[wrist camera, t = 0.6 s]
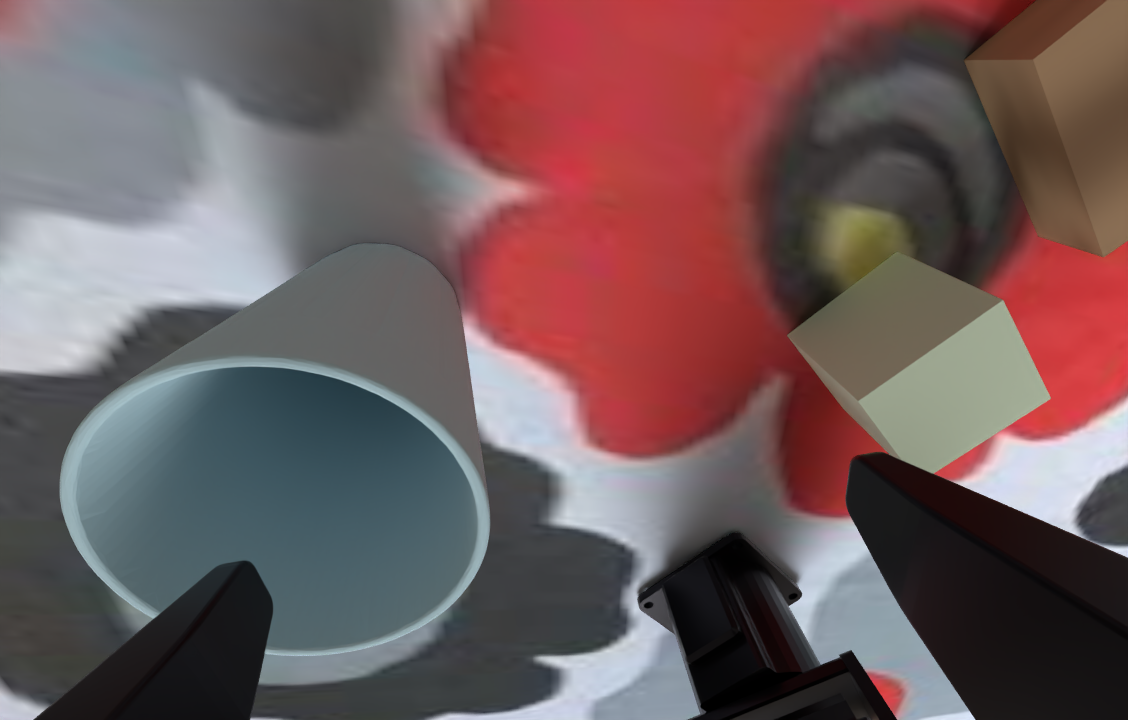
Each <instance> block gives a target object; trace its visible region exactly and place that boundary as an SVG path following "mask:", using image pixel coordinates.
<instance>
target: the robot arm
mask: <svg viewBox="0 0 1128 720" xmlns="http://www.w3.org/2000/svg"><path fill="white" fill-rule="evenodd" d="M846 506H847V509H848V512H849V514H850V516H851V518H852V520H853V522H854V524H855V525H856V527H857V529H858V531H859V533H860V535H861V537H862V538H863V540H864V542H865V544H866V546H867V548H868V550H869V551H870V553H871V555H872V557H873V559H874V561H875V563H876V564H877V566H878V568H879V570H880V572H881V574H882V576H883V577H884V579H885V581H886V583H887V585H888V587H889V589H890V590H891V592H892V594H893V596H894V597H895V599H896V601H897V603H898V604H899V606H900V608H901V609H902V611H903V612H904V614H905V615H906V617H907V619H908V620H909V622H910V623H911V625H912V626H913V628H914V629H915V631H916V632H917V634H918V635H919V637H920V638H921V639H922V641H923V642H924V644H925V645H926V647H927V648H928V650H929V651H930V653H931V654H932V656H933V657H934V659H935V660H936V662H937V663H938V665H939V666H940V668H941V669H942V671H943V672H944V674H945V675H946V677H947V678H948V680H949V681H950V682H951V684H952V685H953V687H954V688H955V690H956V691H957V693H958V694H959V696H960V697H961V699H962V700H963V702H964V703H965V705H966V706H967V708H968V709H969V711H970V712H971V714H972V715H973V717H974V718H975V720H1128V558H1127V557H1125V556H1123V555H1121V554H1118V553H1116V552H1114V551H1111V550H1109V549H1107V548H1104V547H1102V546H1100V545H1097V544H1095V543H1093V542H1090V541H1088V540H1086V539H1083V538H1081V537H1079V536H1076V535H1074V534H1072V533H1070V532H1067V531H1065V530H1063V529H1060V528H1058V527H1056V526H1053V525H1051V524H1049V523H1046V522H1044V521H1042V520H1039V519H1037V518H1035V517H1032V516H1030V515H1028V514H1025V513H1023V512H1021V511H1018V510H1016V509H1014V508H1012V507H1009V506H1007V505H1005V504H1002V503H1000V502H998V501H995V500H993V499H991V498H988V497H986V496H984V495H981V494H979V493H977V492H974V491H972V490H970V489H967V488H965V487H963V486H961V485H958V484H956V483H954V482H951V481H949V480H947V479H944V478H942V477H940V476H937V475H935V474H933V473H930V472H928V471H926V470H923V469H921V468H919V467H916V466H914V465H912V464H909V463H907V462H905V461H903V460H900V459H898V458H896V457H893V456H891V455H889V454H886V453H883V452H873V453H868V454H862V455H857V456H855V457H854V458H853V459H852V460H851V463H850V468H849V475H848V482H847V489H846ZM801 596H802V592H801V591H800V589H799V587H798V586H797V584H795V583H794V582H793V581H792V580H791V579H790V578H789V577H788V576H787V575H786V574H785V573H784V572H783V571H782V570H780V569H779V568H778V567H777V566H776V565H775V564H774V563H773V562H772V561H771V560H770V559H769V558H768V557H767V556H765V555H764V554H763V553H762V552H761V551H760V550H759V549H758V548H757V547H756V546H755V545H754V544H753V543H751V542H750V541H749V540H748V539H747V538H746V537H745V536H744V535H743V534H741V533H738V532H735V533H731V534H729V535H728V536H726V537H725V538H723V539H722V540H720V541H719V542H717V543H716V544H714V545H713V546H712V547H710V548H709V549H707V550H706V551H704V552H703V553H701V554H700V555H698V556H697V557H695V558H694V559H692V560H691V561H689V562H688V563H686V564H685V565H683V566H682V567H680V568H679V569H678V570H676V571H675V572H673V573H672V574H670V575H669V576H667V577H666V578H664V579H663V580H661V581H660V582H658V583H657V584H655V585H654V586H652V587H651V588H649V589H648V590H646V591H645V592H643V593H642V594H641V595H640V596H639V597H638V599H637V600H638V605H639V608H640V609H641V611H643V612H644V613H646V614H647V615H648V616H650V617H651V618H653V619H654V620H655V621H657V622H658V623H660V624H661V625H662V626H664V627H665V628H667V629H668V630H669V631H671V632H672V633H674V634H675V636H676V639H677V642H678V645H679V648H680V652H681V655H682V658H683V661H684V664H685V667H686V670H687V673H688V677H689V680H690V683H691V686H692V689H693V692H694V695H695V699H696V702H697V705H698V708H699V711H700V715H698V716H695V717H693V718H690V719H688V720H897V719H896V717H895V716H894V714H893V713H892V711H891V710H890V708H889V707H888V705H887V704H886V702H885V701H884V699H883V698H882V696H881V694H880V693H879V691H878V690H877V688H876V687H875V685H874V684H873V682H872V681H871V679H870V678H869V676H868V675H867V673H866V672H865V670H864V669H863V667H862V666H861V664H860V663H859V661H858V660H857V658H856V656H855V655H854V653H853V652H852V650H850V651H847V652H845V653H842V654H840V655H839V656H840V657H839V658H837V659H835V660H832V661H830V662H827V663H825V664H822V665H820V663H819V661H818V659H817V657H816V656H815V654H814V652H813V650H812V648H811V646H810V645H809V643H808V641H807V639H806V637H805V635H804V634H803V632H802V630H801V628H800V626H799V624H798V623H797V621H796V619H795V617H794V615H793V613H792V612H791V610H790V608H789V606H790V605H791V604H793V603H794V602H796V601H798V600H799V599H800V598H801ZM272 617H273V601H272V597H271V595H270V593H269V591H268V589H267V588H266V586H265V584H264V582H263V580H262V578H261V577H260V575H259V573H258V571H257V569H256V567H255V566H254V564H253V563H251V562H250V561H246V560H242V561H236V562H230V563H224V564H221V565H218V566H216V567H215V568H214V569H212V570H211V571H210V572H209V573H208V574H206V575H205V576H204V577H203V578H202V579H200V580H199V581H198V582H197V583H196V584H195V585H193V586H192V587H191V588H190V589H189V590H187V591H186V592H185V593H184V594H183V595H181V596H180V597H179V598H178V599H177V600H175V601H174V602H173V603H172V604H171V605H170V606H168V607H167V608H166V609H165V610H164V611H162V612H161V613H160V614H159V615H158V616H156V617H155V618H154V619H153V620H152V621H150V622H149V623H148V624H147V625H146V626H145V627H143V628H142V629H141V630H140V631H139V632H137V633H136V634H135V635H134V636H133V637H131V638H130V639H129V640H128V641H127V642H125V643H124V644H123V645H122V646H121V647H120V648H118V649H117V650H116V651H115V652H114V653H112V654H111V655H110V656H109V657H108V658H106V659H105V660H104V661H103V662H102V663H100V664H99V665H98V666H97V667H96V668H94V669H93V670H92V671H91V672H90V673H89V674H87V675H86V676H85V677H84V678H83V679H81V680H80V681H79V682H78V683H77V684H75V685H74V686H73V687H72V688H71V689H69V690H68V691H67V692H66V693H65V694H64V695H62V696H61V697H60V698H59V699H58V700H56V701H55V702H54V703H53V704H52V705H50V706H49V707H48V708H47V709H46V710H44V711H43V712H42V713H41V714H40V715H39V716H37V717H36V718H35V719H34V720H250V718H251V714H252V710H253V706H254V701H255V696H256V692H257V687H258V682H259V678H260V673H261V668H262V664H263V659H264V654H265V649H266V645H267V640H268V635H269V631H270V626H271V621H272Z"/></svg>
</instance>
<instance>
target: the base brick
mask: <svg viewBox="0 0 1128 720" xmlns="http://www.w3.org/2000/svg"><path fill="white" fill-rule="evenodd" d="M964 62H965V64H966V67H967V69H968V71H969V74H970V76H971V79H972V81H973V83H974V86H975V88H976V90H977V93H978V95H979V98H980V100H981V102H982V105H983V107H984V109H985V112H986V114H987V116H988V119H989V121H990V124H991V126H992V128H993V131H994V133H995V135H996V138H997V140H998V143H999V145H1000V147H1001V150H1002V152H1003V154H1004V157H1005V159H1006V162H1007V164H1008V166H1009V169H1010V171H1011V173H1012V176H1013V178H1014V180H1015V183H1016V185H1017V188H1018V190H1019V192H1020V195H1021V197H1022V199H1023V202H1024V204H1025V207H1026V209H1027V211H1028V214H1029V216H1030V218H1031V221H1032V223H1033V225H1034V228H1035V230H1036V233H1037V235H1038V237H1041V238H1045V239H1048V240H1051V241H1054V242H1057V243H1060V244H1063V245H1067V246H1070V247H1073V248H1076V249H1079V250H1082V251H1086V252H1089V253H1092V254H1095V255H1098V256H1101V257H1105V256H1106V255H1108V254H1109V253H1111V252H1112V251H1114V250H1115V249H1117V248H1118V247H1119V246H1121V245H1122V244H1124V243H1125V242H1127V241H1128V0H1036V1H1035V2H1034V3H1032V4H1031V5H1030V6H1029V7H1027V8H1026V9H1025V10H1024V11H1023V12H1021V13H1020V14H1019V15H1018V16H1017V17H1015V18H1014V19H1013V20H1012V21H1011V22H1009V23H1008V24H1007V25H1006V26H1005V27H1003V28H1002V29H1001V30H1000V31H999V32H997V33H996V34H995V35H994V36H992V37H991V38H990V39H989V40H988V41H986V42H985V43H984V44H983V45H982V46H980V47H979V48H978V49H977V50H976V51H974V52H973V53H972V54H971V55H970V56H968V57H967V58H966V59H965V60H964Z"/></svg>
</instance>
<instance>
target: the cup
mask: <svg viewBox="0 0 1128 720" xmlns="http://www.w3.org/2000/svg"><path fill="white" fill-rule="evenodd" d="M60 501H61V508H62V512H63V515H64V518H65V522H66V525H67V527H68V530H69V532H70V535H71V537H72V539H73V541H74V543H75V545H76V547H77V549H78V550H79V552H80V553H81V555H82V556H83V558H84V559H85V561H86V562H87V563H88V565H89V566H90V567H91V568H92V569H93V571H94V572H95V573H96V574H97V575H98V576H99V577H100V578H101V579H102V580H103V581H104V582H105V583H106V584H107V585H108V586H109V587H110V588H111V589H112V590H113V591H114V592H115V593H117V594H118V595H119V596H120V597H122V598H123V599H124V600H126V601H127V602H128V603H129V604H131V605H132V606H134V607H135V608H137V609H138V610H140V611H141V612H143V613H145V614H146V615H148V616H150V617H151V618H153V619H154V618H155V617H156V616H158V615H159V614H160V613H161V612H162V611H164V610H165V609H166V608H167V607H168V606H170V605H171V604H172V603H173V602H174V601H175V600H177V599H178V598H179V597H180V596H181V595H183V594H184V593H185V592H186V591H187V590H189V589H190V588H191V587H192V586H193V585H195V584H196V583H197V582H198V581H199V580H200V579H202V578H203V577H204V576H205V575H206V574H208V573H209V572H210V571H211V570H212V569H214V568H215V567H216V566H218V565H221V564H224V563H230V562H236V561H242V560H246V561H250V562H251V563H253V564H254V566H255V567H256V569H257V571H258V573H259V575H260V577H261V578H262V580H263V582H264V584H265V586H266V588H267V589H268V591H269V593H270V595H271V597H272V601H273V617H272V621H271V626H270V631H269V635H268V640H267V645H266V649H265V654H272V655H284V656H314V655H328V654H337V653H343V652H350V651H355V650H360V649H365V648H368V647H372V646H376V645H380V644H382V643H385V642H388V641H391V640H394V639H396V638H399V637H401V636H403V635H405V634H407V633H410V632H412V631H414V630H416V629H418V628H419V627H421V626H423V625H425V624H426V623H428V622H429V621H431V620H433V619H434V618H435V617H437V616H438V615H440V614H441V613H442V612H444V611H445V610H446V609H447V608H449V607H450V606H451V605H452V604H453V603H454V602H455V601H456V600H457V599H458V598H459V597H460V595H461V594H462V593H463V592H464V590H465V589H466V588H467V587H468V585H469V584H470V583H471V581H472V580H473V578H474V577H475V575H476V573H477V571H478V569H479V567H480V565H481V563H482V561H483V558H484V555H485V552H486V549H487V545H488V539H489V531H490V508H489V501H488V494H487V487H486V480H485V473H484V466H483V459H482V452H481V446H480V441H479V434H478V427H477V420H476V413H475V406H474V398H473V391H472V384H471V377H470V370H469V363H468V356H467V349H466V342H465V335H464V329H463V322H462V317H461V312H460V308H459V306H458V303H457V298H456V294H455V292H454V290H453V288H452V286H451V285H450V283H449V282H448V281H447V279H446V278H445V277H444V276H443V275H442V274H441V273H440V272H439V270H438V269H437V268H436V267H435V266H434V265H433V264H432V263H431V262H429V261H428V260H426V259H425V258H423V257H421V256H419V255H417V254H415V253H413V252H411V251H409V250H406V249H404V248H402V247H399V246H396V245H391V244H373V243H362V244H355V245H351V246H349V247H347V248H345V249H343V250H341V251H338V252H335V253H333V254H331V255H329V256H327V257H325V258H323V259H322V260H320V261H318V262H317V263H315V264H313V265H312V266H310V267H309V268H307V269H306V270H304V271H302V272H301V273H299V274H298V275H296V276H294V277H293V278H291V279H290V280H288V281H287V282H285V283H283V284H282V285H280V286H279V287H277V288H276V289H274V290H272V291H271V292H269V293H268V294H266V295H265V296H263V297H261V298H260V299H258V300H257V301H255V302H253V303H252V304H250V305H249V306H247V307H246V308H244V309H242V310H241V311H239V312H238V313H236V314H235V315H233V316H231V317H230V318H228V319H227V320H225V321H223V322H222V323H220V324H219V325H217V326H216V327H214V328H212V329H211V330H209V331H208V332H206V333H205V334H203V335H201V336H200V337H198V338H196V339H195V340H193V341H191V342H190V343H188V344H186V345H185V346H183V347H182V348H180V349H178V350H177V351H175V352H174V353H172V354H170V355H169V356H167V357H166V358H164V359H162V360H161V361H159V362H158V363H156V364H154V365H153V366H151V367H150V368H148V369H147V370H145V371H143V372H142V373H140V374H139V375H137V376H135V377H134V378H132V379H131V380H129V381H128V382H126V383H125V384H123V385H122V386H120V387H119V388H117V389H116V390H114V391H113V392H111V393H110V394H109V395H108V396H107V397H105V398H104V399H103V400H102V401H101V402H100V403H99V404H98V405H97V406H95V407H94V408H93V409H92V410H91V411H90V412H89V414H88V415H87V416H86V417H85V418H84V420H83V421H82V422H81V424H80V425H79V427H78V428H77V430H76V431H75V432H74V434H73V436H72V439H71V441H70V443H69V445H68V448H67V450H66V453H65V456H64V459H63V463H62V467H61V475H60Z"/></svg>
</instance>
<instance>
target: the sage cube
mask: <svg viewBox="0 0 1128 720" xmlns="http://www.w3.org/2000/svg"><path fill="white" fill-rule="evenodd" d="M787 336H788V338H789V339H790V340H791V342H792V343H793V344H794V345H795V347H796V348H797V349H798V351H799V352H800V353H801V355H802V356H803V357H804V358H805V360H806V361H807V362H808V364H809V365H810V366H811V368H812V369H813V370H814V372H815V373H816V374H817V375H818V377H819V378H820V379H821V381H822V382H823V383H824V385H825V386H826V387H827V388H828V390H829V391H830V392H831V394H832V395H833V396H834V398H835V399H836V400H837V401H838V403H839V404H840V405H841V407H842V408H843V409H844V410H845V411H846V412H847V413H848V414H849V415H850V416H851V417H852V418H853V419H854V420H855V421H856V422H857V423H858V424H859V425H860V426H861V427H862V428H863V429H864V430H865V431H866V432H867V433H868V434H869V435H870V436H871V437H872V438H873V439H874V440H875V441H876V442H877V443H879V444H880V445H881V446H882V447H883V448H884V449H885V450H886V451H887V452H888V453H889V454H890V455H891V456H893V457H896V458H898V459H900V460H903V461H905V462H907V463H909V464H912V465H914V466H916V467H919V468H921V469H923V470H926V471H928V472H930V473H935V472H937V471H938V470H940V469H941V468H943V467H944V466H946V465H948V464H949V463H951V462H952V461H954V460H955V459H957V458H959V457H960V456H962V455H963V454H965V453H966V452H968V451H970V450H971V449H973V448H974V447H976V446H977V445H979V444H981V443H982V442H984V441H985V440H987V439H988V438H990V437H991V436H993V435H995V434H996V433H998V432H999V431H1001V430H1002V429H1004V428H1006V427H1007V426H1009V425H1010V424H1012V423H1013V422H1015V421H1017V420H1018V419H1020V418H1021V417H1023V416H1024V415H1026V414H1028V413H1029V412H1031V411H1032V410H1034V409H1035V408H1037V407H1039V406H1040V405H1042V404H1043V403H1045V402H1046V401H1048V400H1050V399H1051V397H1050V395H1049V393H1048V391H1047V389H1046V387H1045V385H1044V383H1043V381H1042V379H1041V377H1040V375H1039V373H1038V371H1037V369H1036V367H1035V364H1034V362H1033V360H1032V358H1031V356H1030V354H1029V352H1028V350H1027V348H1026V346H1025V344H1024V342H1023V340H1022V338H1021V336H1020V334H1019V332H1018V330H1017V328H1016V325H1015V323H1014V321H1013V319H1012V317H1011V315H1010V313H1009V311H1008V309H1007V307H1006V305H1005V303H1004V301H1003V300H1002V299H1000V298H998V297H995V296H993V295H991V294H989V293H987V292H985V291H982V290H980V289H978V288H976V287H974V286H972V285H969V284H967V283H965V282H963V281H961V280H959V279H957V278H954V277H952V276H950V275H948V274H946V273H944V272H941V271H939V270H937V269H935V268H933V267H931V266H928V265H926V264H924V263H922V262H920V261H918V260H915V259H913V258H911V257H909V256H907V255H905V254H902V253H900V252H898V251H897V252H896V253H894V254H893V255H892V256H890V257H889V258H888V259H886V260H885V261H884V262H882V263H881V264H880V265H878V266H877V267H876V268H875V269H873V270H872V271H871V272H869V273H868V274H867V275H865V276H864V277H863V278H861V279H860V280H859V281H857V282H856V283H855V284H853V285H852V286H851V287H850V288H848V289H847V290H846V291H844V292H843V293H842V294H840V295H839V296H838V297H836V298H835V299H834V300H832V301H831V302H830V303H828V304H827V305H826V306H825V307H823V308H822V309H821V310H819V311H818V312H817V313H815V314H814V315H813V316H811V317H810V318H809V319H807V320H806V321H805V322H803V323H802V324H801V325H800V326H798V327H797V328H796V329H794V330H793V331H792V332H790V333H789V334H788V335H787Z"/></svg>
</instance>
